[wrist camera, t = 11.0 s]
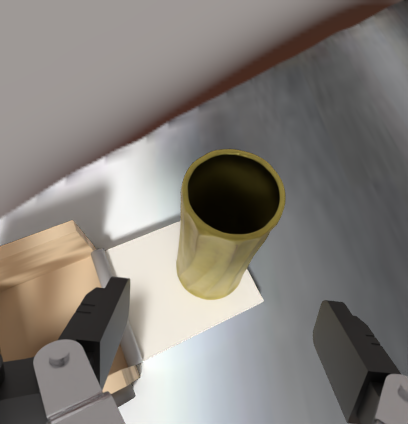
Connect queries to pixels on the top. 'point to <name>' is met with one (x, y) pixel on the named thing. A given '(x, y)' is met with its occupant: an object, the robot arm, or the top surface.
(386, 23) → the top surface
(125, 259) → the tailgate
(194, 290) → the vase
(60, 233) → the truck bed
